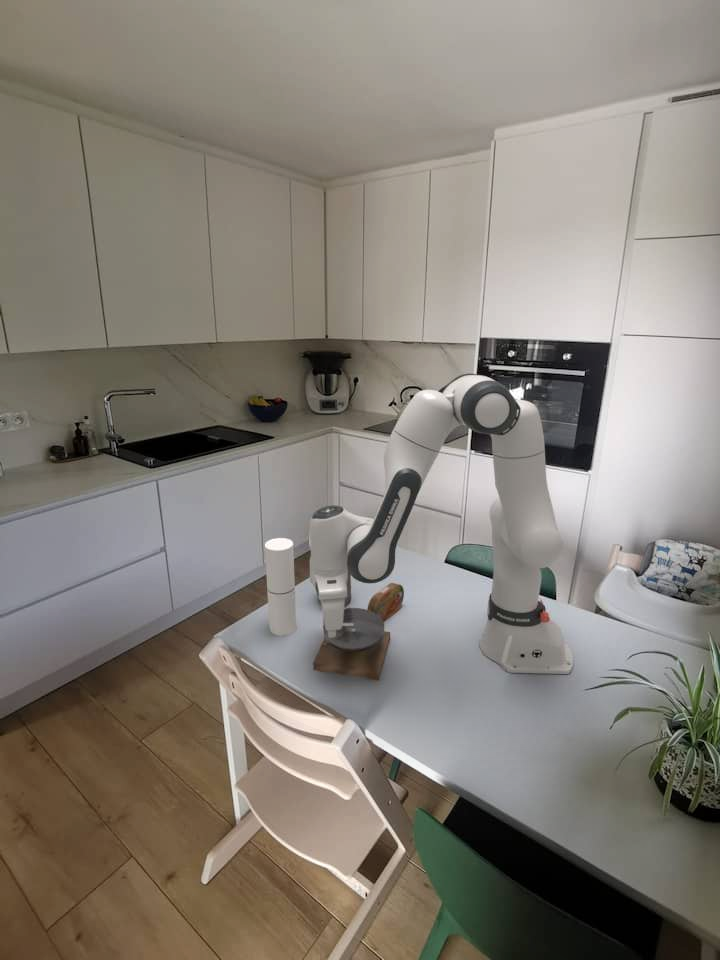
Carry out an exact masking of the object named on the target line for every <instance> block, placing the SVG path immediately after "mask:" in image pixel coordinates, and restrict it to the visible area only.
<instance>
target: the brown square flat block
mask: <svg viewBox="0 0 720 960" xmlns="http://www.w3.org/2000/svg"><path fill="white" fill-rule="evenodd" d="M323 638H324V637H323ZM390 640H391V631H385V630H384V637H383V639H382V641H381V642H380V643H379V644H378V645H377V646H375V647H373V648H371V649H369V650H365V651H360V652H347V651H342V650H339V649H336V648H334V647H332V646H331V645H329V644H328V643H327V642H326V640H325V638H324V639H323V641H322V642H321V645H320V647H319V649H318V651H317V654H316V655H315V658H314V660H313V662H312V665H313V667H312V668H313V669H312V670H313V671H318V672H319V671H320V672H325V673H331V674H338V675H344V676H348V677H349V676H350V677H356V678H361V679H362V678H363V679H368V680H374V681H380V678H381V675H382V671H383V668H384V667H383V666H384V663H385V660H386V655H387V653H388V652H387V651H388V647H389V644H390Z"/></svg>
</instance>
